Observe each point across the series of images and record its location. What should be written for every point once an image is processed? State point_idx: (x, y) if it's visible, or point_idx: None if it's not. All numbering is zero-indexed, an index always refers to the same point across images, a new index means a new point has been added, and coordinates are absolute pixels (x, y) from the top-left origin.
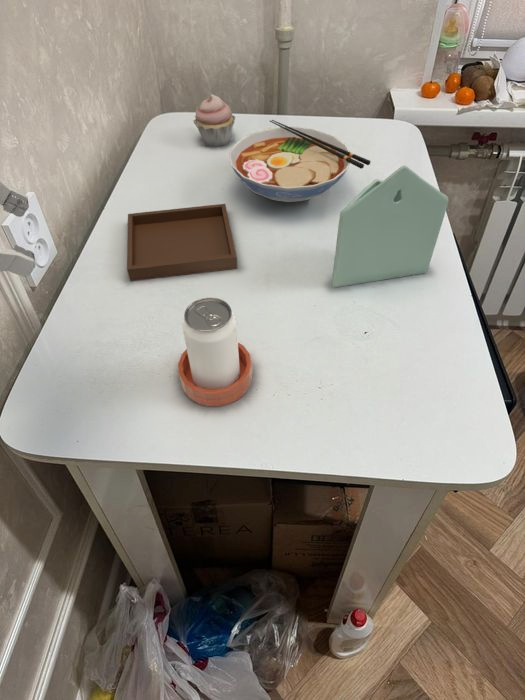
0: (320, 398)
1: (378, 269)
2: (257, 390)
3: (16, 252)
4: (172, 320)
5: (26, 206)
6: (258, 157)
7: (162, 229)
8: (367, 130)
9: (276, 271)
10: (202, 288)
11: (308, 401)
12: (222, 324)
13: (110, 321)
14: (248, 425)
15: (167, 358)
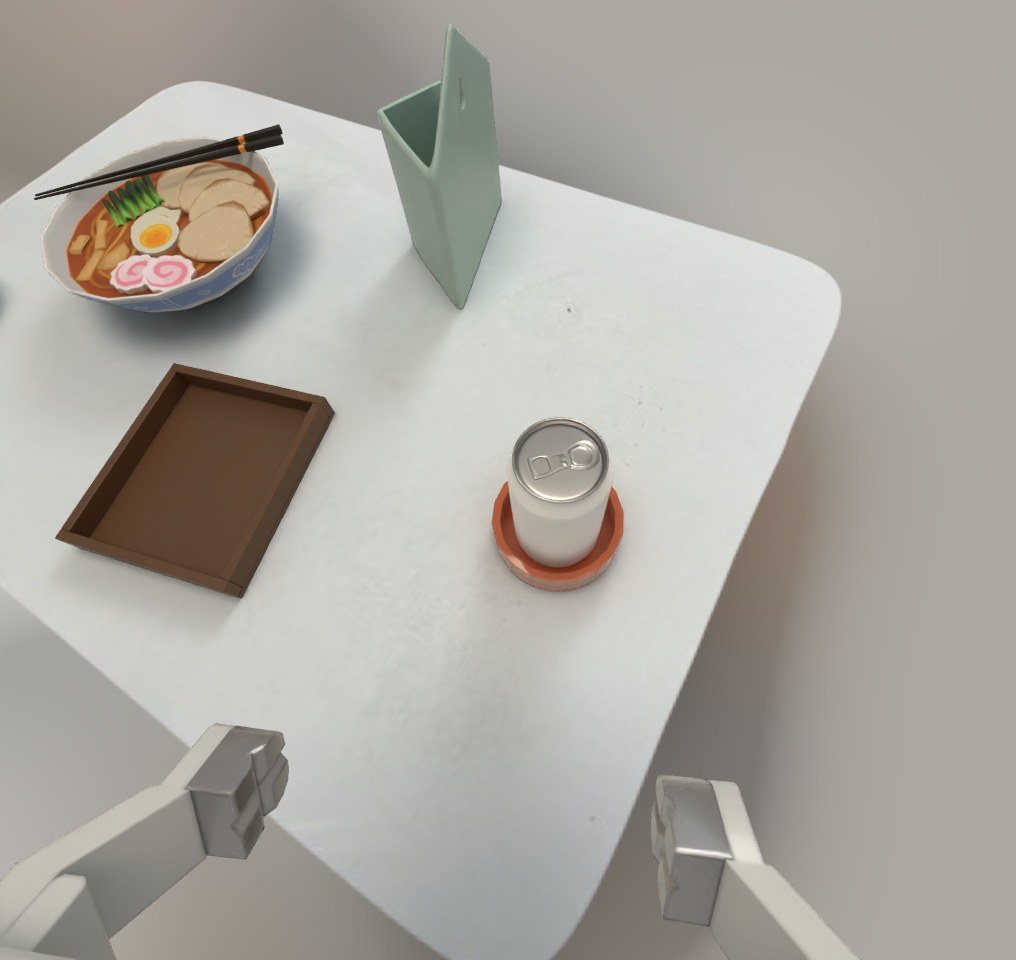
0: (659, 410)
1: (479, 237)
2: None
3: (743, 858)
4: (391, 556)
5: (279, 742)
6: (114, 259)
7: (144, 493)
8: (157, 124)
9: (380, 362)
10: (345, 481)
11: (658, 426)
12: (595, 445)
13: (325, 669)
14: (669, 520)
15: (476, 594)
